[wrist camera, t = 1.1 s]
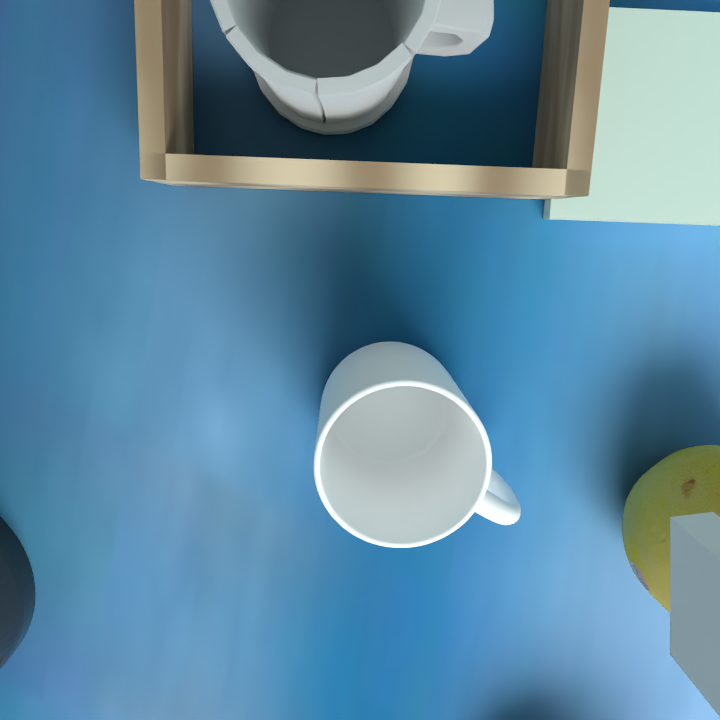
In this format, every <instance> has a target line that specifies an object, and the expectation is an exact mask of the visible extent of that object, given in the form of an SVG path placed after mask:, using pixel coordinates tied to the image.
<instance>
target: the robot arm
mask: <svg viewBox="0 0 720 720" xmlns="http://www.w3.org/2000/svg"><path fill="white" fill-rule="evenodd" d="M34 606H35V583H34V577H33V572H32V568H31V565H30V562H29V559H28V557H27V554H26V552H25V550H24V548H23V546H22V545H21V543H20V541H19V539H18V538H17V536H16V535H15V533H14V532H13V531H12V530H11V528H10V527H9V526H8V525H7V524H6V522H5V521H4V520H3V519H2V518H1V517H0V669H1V668H2V666H3V665H4V664H5V663H6V661H7V660H8V659H9V658H10V656H11V655H12V654H13V652H14V651H15V650H16V648H17V647H18V646H19V645H20V643H21V642H22V640H23V638H24V637H25V635H26V633H27V631H28V628H29V626H30V623H31V620H32V617H33V612H34ZM670 655H671V656H672V657H673V659H674V660H675V661H676V662H677V664H678V665H679V666H680V667H681V669H682V670H683V671H684V673H685V674H686V675H687V676H688V678H689V679H690V680H691V681H692V683H693V684H694V685H695V686H696V688H697V689H698V690H699V691H700V693H701V694H702V695H703V697H704V698H705V699H706V700H707V702H708V703H709V704H710V705H711V707H712V708H713V709H714V710H715V712H716V713H717V714H718V715H719V717H720V517H719V516H718V515H717V514H715V513H714V512H708V513H700V514H691V515H683V516H675V517H670Z"/></svg>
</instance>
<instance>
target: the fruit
mask: <svg viewBox="0 0 720 720" xmlns="http://www.w3.org/2000/svg"><path fill="white" fill-rule="evenodd" d="M708 512H714V513H715V514H717V515H718V516H719V517H720V446H719V445H701V446H693V447H688V448H684V449H681V450H678V451H676V452H674V453H672V454H670V455H668V456H667V457H665V458H664V459H662V460H661V461H659V462H658V463H657V464H655V465H654V466H653V467H651V468H650V469H649V470H648V471H647V472H646V473H644V474H643V475H642V476H641V477H640V478H639V480H638V481H637V482H636V483H635V485H634V486H633V488H632V490H631V491H630V493H629V495H628V498H627V500H626V504H625V507H624V512H623V519H622V534H623V543H624V548H625V551H626V555H627V558H628V561H629V563H630V565H631V567H632V570H633V572H634V573H635V575H636V576H637V578H638V579H639V581H640V582H641V583H642V585H643V586H644V587H645V588H646V589H647V590H648V591H649V593H650V594H651V595H652V596H653V597H654V598H655V599H656V600H657V601H658V602H659V603H660V604H661V605H662V606H663V607H664V608H665V609H666V610H667V611H668V612H670V517H675V516H683V515H691V514H700V513H708Z"/></svg>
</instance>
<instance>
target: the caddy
mask: <svg viewBox="0 0 720 720" xmlns="http://www.w3.org/2000/svg"><path fill="white" fill-rule="evenodd" d="M609 5H610V0H547V8H546V19H545V31H544V42H543V53H542V64H541V75H540V86H539V97H538V109H537V120H536V131H535V142H534V153H533V164H532V168H521V167H495V166H470V165H444V164H419V163H394V162H368V161H343V160H317V159H292V158H266V157H241V156H215V155H194V109H193V56H192V4H191V0H134V10H135V37H136V64H137V92H138V119H139V146H140V173H141V179H144V180H149V181H154V182H159V183H164V184H169V185H174V186H200V187H226V188H253V189H279V190H306V191H332V192H359V193H385V194H412V195H438V196H464V197H491V198H517V199H544V200H545V199H562V198H573V197H583V196H589V189H590V179H591V170H592V161H593V152H594V143H595V134H596V124H597V115H598V106H599V97H600V88H601V78H602V69H603V60H604V51H605V42H606V33H607V23H608V14H609Z"/></svg>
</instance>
